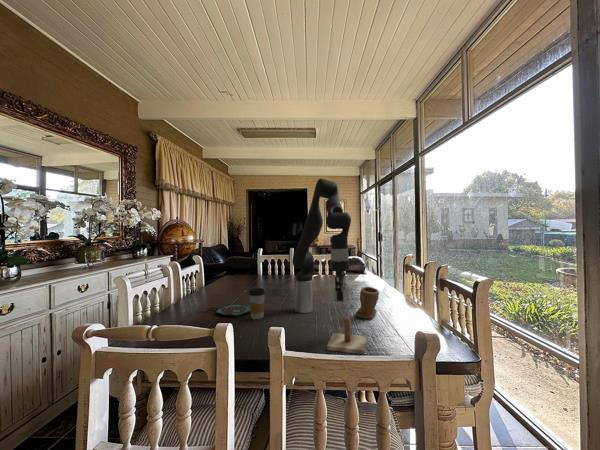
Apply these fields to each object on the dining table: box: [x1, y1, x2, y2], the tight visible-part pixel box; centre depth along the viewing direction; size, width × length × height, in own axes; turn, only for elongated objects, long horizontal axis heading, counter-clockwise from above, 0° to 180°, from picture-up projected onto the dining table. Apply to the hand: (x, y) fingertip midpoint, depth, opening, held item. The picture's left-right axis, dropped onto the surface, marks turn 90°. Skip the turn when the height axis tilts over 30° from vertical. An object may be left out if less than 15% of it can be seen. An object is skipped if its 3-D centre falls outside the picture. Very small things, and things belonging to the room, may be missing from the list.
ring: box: [332, 286, 350, 303], centre depth 122 cm, size 6×6×5 cm
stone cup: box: [355, 286, 380, 319], centre depth 151 cm, size 15×12×15 cm
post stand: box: [326, 316, 368, 355], centre depth 115 cm, size 14×14×10 cm
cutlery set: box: [215, 304, 251, 317], centre depth 164 cm, size 20×30×2 cm, turn 65°
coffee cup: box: [248, 287, 266, 319], centre depth 150 cm, size 8×8×15 cm
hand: (341, 298), depth 122 cm, fingers closed on ring, 6 cm apart
